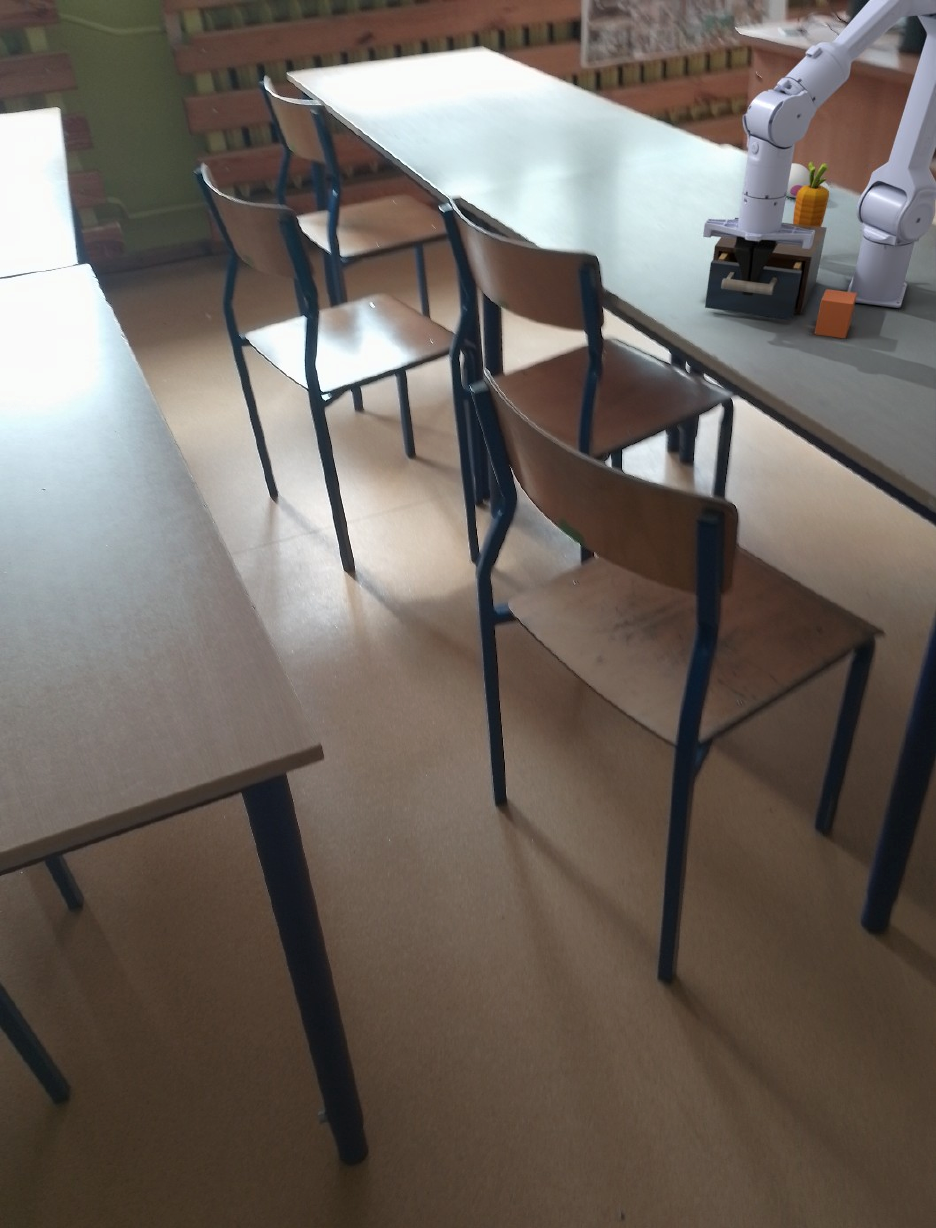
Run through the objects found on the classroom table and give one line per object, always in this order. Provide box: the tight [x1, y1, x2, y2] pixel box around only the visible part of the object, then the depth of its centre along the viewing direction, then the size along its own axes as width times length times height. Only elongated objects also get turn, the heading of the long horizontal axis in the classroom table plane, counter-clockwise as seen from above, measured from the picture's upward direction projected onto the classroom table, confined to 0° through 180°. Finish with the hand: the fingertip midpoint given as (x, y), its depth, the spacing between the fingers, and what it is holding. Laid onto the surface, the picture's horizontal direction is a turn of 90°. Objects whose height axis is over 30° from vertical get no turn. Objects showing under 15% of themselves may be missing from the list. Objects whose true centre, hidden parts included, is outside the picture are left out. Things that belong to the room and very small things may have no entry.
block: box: [814, 289, 857, 339], centre depth 138 cm, size 4×4×5 cm
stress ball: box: [786, 162, 810, 199], centre depth 186 cm, size 8×8×7 cm
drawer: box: [704, 252, 806, 320], centre depth 144 cm, size 17×13×7 cm
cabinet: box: [712, 217, 827, 315], centre depth 149 cm, size 13×14×8 cm
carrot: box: [792, 161, 830, 227], centre depth 157 cm, size 5×5×15 cm
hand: (748, 292), depth 139 cm, fingers closed, pressing on drawer
